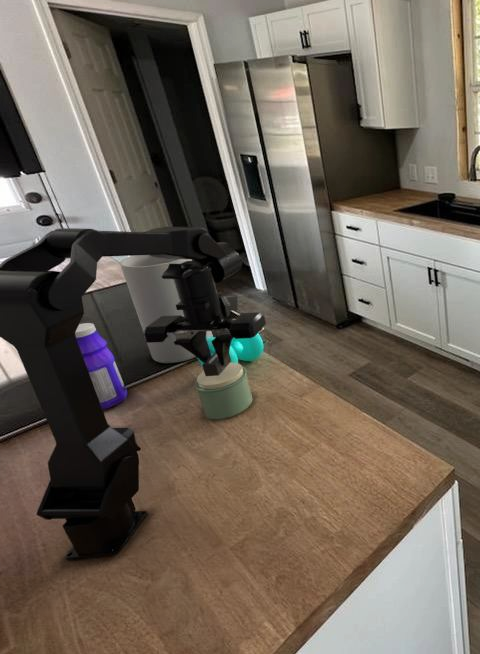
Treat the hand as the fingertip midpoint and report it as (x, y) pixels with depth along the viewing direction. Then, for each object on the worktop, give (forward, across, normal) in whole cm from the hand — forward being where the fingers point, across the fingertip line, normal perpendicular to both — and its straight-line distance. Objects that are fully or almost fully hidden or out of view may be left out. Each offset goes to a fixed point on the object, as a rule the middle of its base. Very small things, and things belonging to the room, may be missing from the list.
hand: (217, 364), depth 82 cm
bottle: (+10, +25, -4) cm, 27 cm away
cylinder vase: (+10, +21, -23) cm, 33 cm away
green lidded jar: (+10, 0, 0) cm, 10 cm away
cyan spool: (+10, +5, -14) cm, 18 cm away
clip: (+1, 0, 0) cm, 1 cm away
